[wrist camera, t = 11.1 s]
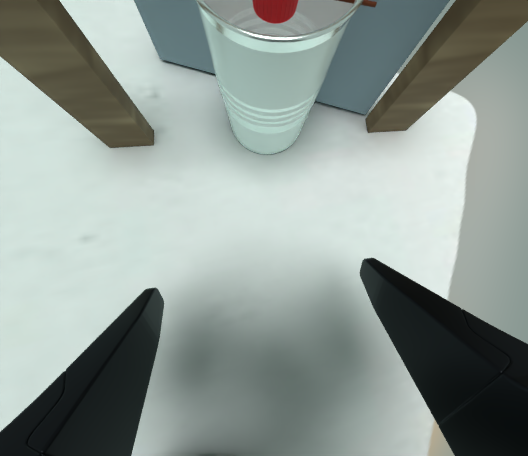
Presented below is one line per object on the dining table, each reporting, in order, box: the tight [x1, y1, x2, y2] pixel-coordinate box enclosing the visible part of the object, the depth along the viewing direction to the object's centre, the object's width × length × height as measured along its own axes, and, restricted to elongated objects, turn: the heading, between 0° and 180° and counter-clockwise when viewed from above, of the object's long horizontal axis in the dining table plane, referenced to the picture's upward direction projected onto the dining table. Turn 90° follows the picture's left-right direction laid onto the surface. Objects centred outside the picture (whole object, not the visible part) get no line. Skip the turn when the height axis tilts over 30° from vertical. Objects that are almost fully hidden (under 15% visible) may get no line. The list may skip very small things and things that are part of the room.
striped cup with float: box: [196, 0, 377, 154], centre depth 16 cm, size 10×8×12 cm
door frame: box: [0, 0, 528, 148], centre depth 13 cm, size 2×29×18 cm, turn 95°
